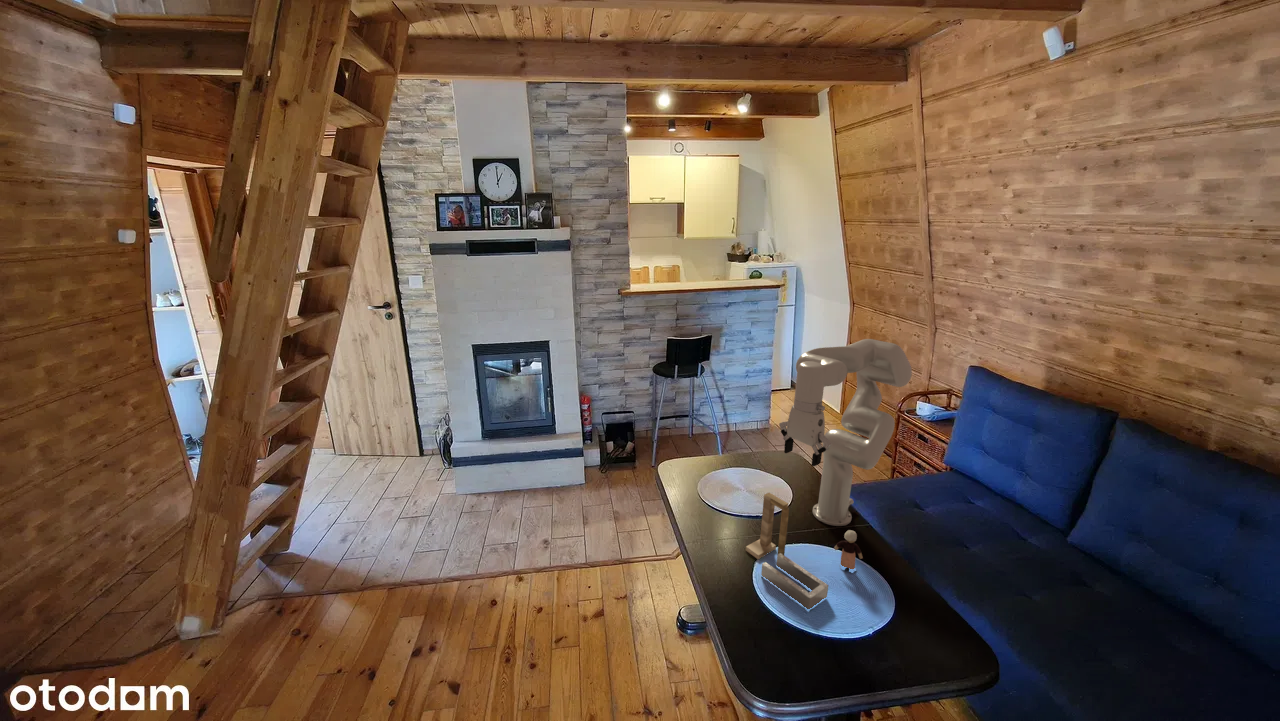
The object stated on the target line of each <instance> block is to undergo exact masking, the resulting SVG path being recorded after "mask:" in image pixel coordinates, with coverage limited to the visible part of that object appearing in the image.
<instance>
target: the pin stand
mask: <svg viewBox="0 0 1280 721" xmlns="http://www.w3.org/2000/svg"><path fill="white" fill-rule="evenodd" d="M775 507H777V508H779V510H781V516H780V524H779V535H778V536H779V537H778V545H776V544H775V543H773V542H772V536H773V527H774V519H775V518H774V516H775ZM789 513H790V508H789V503H788V502H786V501H784V500H783V499H781V498H779V497H777V495H775V494H773V493H771V492H767V493H765V494H764V495H763V504H762V515H761V526H760V538H759V539H758V540H755V541H753V542H752V543H749V544H748V545H746V546H745V552H747V553H748V554H750V555H752V556H753V557H754V558H756V560H759V559H761V557H762V558H764V557H765V556H767V555H768V554H770V553H772V552H774V551H775V550H777V555H778V554H780V553H781V554H783V555H784V556H785V551H786V545H787V544H786V543H787V542H786V541H787V534H788V524H789V523H788V522H789V515H790V514H789ZM776 548H777V549H776ZM773 550H774V551H773ZM771 551H772V552H771ZM769 552H770V553H769ZM767 553H768V554H767ZM766 554H767V555H766ZM764 555H765V556H764ZM777 555H776V556H777Z"/></svg>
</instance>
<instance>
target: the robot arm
mask: <svg viewBox="0 0 1280 721" xmlns="http://www.w3.org/2000/svg"><path fill="white" fill-rule="evenodd" d="M795 369H796V381H795V390H794V399H793V404H792V405H791V408H790V411H789V414H788V420H787V421H782V422H779V428H780V433H781V435H782V436H783V438H782V439H783V440H784V450H783V452H784V454H789V453H790V452H793V450H794V440H796V441H798V442H800V443H803V444H805V445H808V446H810V447H811V448H812V450H813V453H812V458H811V466H812V467H816V466H818V465H820V464H821V462H822V456H823V462H822V464H823V465H822V470H821V471H822V472H821V479H820V486H819V494H818V503H816V504H814V505H813V507H812V514H813V516H814V517H815V518H816V519H817V520H818V521H819V522H822V523H823V524H826V525H829V526H833V527H835V526H836V527H842V526H847V525H848V524H850V523H851V521H852V518H853V517H852V513H851V512H850V511H849V508H850V506H852V505H854V499H853V498H851V490H852V483H853V479H854V478H853V476H854V470H853V466H854V467H857V468H860V469H863V470H866V471H867V470H871V469H873V468H874V467H875V466H876V465H877V464H878V462H879V460H880V458H881V456H882V455H883V453H884V451H885V449H886V447H887V446H888V443H889V442H890V440H891V438H892V436H893V433H894V431H895V426H896V425H895V423H896V422H895V418H894V417H893V416H892V415H891V414H890V413H887V411H886V412H885V411H882V410H880V409H879V407H880V405H881V404H882V401H883V397H882V394H881V390H880V389H879V386H878V385H877V383H881V384H885V385H889V386H892V387H895V388H896V387H897V388H902V387H905V386H907V385H908V384H909V382H910V381H911V378H912V375H913V372H912V366H911V363H910V361H909V359H908V357H907V355H906V353H905V351H904V350H903V348H902V347H901V346H899V344H896V343H893V342H888V341H882V340H878V339H874V338H863V339H861V340H858V341H856V342H853V343H851V344H847V345H844V346H832V347H831V346H830V347H829V346H828V347H827V346H826V347H817V348H813V349H810V350H807V351H805V352H804V353H802V354H801V355H800V356H799V357H798V359H797V360H796V363H795ZM853 373H856V389H855V393H854V395H853V396H852V398H851V400H850V401H849V403H848V405H847V407H846V409H845V410H844V412H843V414H842V416H841V420H840V423H841V426H842V427H843V428H844V429H845V430H843V429H840V428H839V429H838V428H832V429H830V430H827V432H825V431H826V428H825V426H826V425H825V423H826V421H825V414H824V411H825V409H826V406H824V405H823V398H824V389H825V388H826V387H832V386H834V387H835V386H837V385H838V386H839V385H841V383H843V382H844V381H845V380H846V378H847V376H848V374H853ZM822 453H823V454H822Z"/></svg>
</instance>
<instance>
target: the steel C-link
mask: <svg viewBox="0 0 1280 721" xmlns="http://www.w3.org/2000/svg"><path fill="white" fill-rule="evenodd" d="M776 565H777V566H778V567H780V568H781V569H783V570H784V571H786V572H787V573H788V574H790V575H791V576H793V577H794V578H795V579H797V580H799V581H800V582H801V583H803V584H804V585H806V586H807V587H808V588H810V589H811V590H812V591H811V592H810V591H809V592H808V590H807V589H805V588H804V587H803V586H801V585H800V584H798V583H797V582H796V581H794V580H793V579H791V578H790V577H788V576H787V575H786V574H784V573H783V572H780V570H779V569H777V568H776V567H773V566H772V565H770V563H767V562H766V561H765V562H763V563H762V564H761V572H760V576H761V575H762V576H763V577H765V578H766V579H768V580H769V581H770V582H772V583H773V584H774V585H776V586H777V587H778V588H780V589H781V590H782V591H784V592H785V593H787V594H788V595H789V596H791V597H792V598H794V599H795V600H797V601H798V602H799V603H801V604H802V605H803V606H804V607H806V608H807V609H810V608H812V607H813V606H814V605H816V604H817V603H819V602H820V601H821V600H822V599H824V598H826V597H827V598H828V592H829V584H827V583H826V582H825V581H823V580H822V579H820V578H818V577H817V576H816V575H814V574H812V573H811V572H809V571H808V570H807V569H805V568H804V567H802V566H800V564H798V563H796V562H795V561H793V560H792V559H790V558H789V557H787V556H786V555H785V554H784V555H783V554H781V553H780V554H778V555H776Z"/></svg>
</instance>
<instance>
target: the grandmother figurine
mask: <svg viewBox="0 0 1280 721" xmlns="http://www.w3.org/2000/svg"><path fill="white" fill-rule="evenodd" d="M843 536H844V537H843V538H844V539H845V540H840V541H838V542H837V543H836V545H834V547H833V549H834V550H835V551H838V549H840V548H842V551H841V557H840V564H841V565H842V566H844V567H847V568H848V569H849V568H850V569H854V568H856V554H857V555H858V558H859V560H861V559H864V558H863V554H862V551H861V549H860V547H859V545H858V544H857V543H855V542H856V541H857V539H858V538H857V537H858V534H857V533H856V531H854V530H851V529H848V530H847V531H846V532H845V533H844V535H843Z"/></svg>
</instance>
